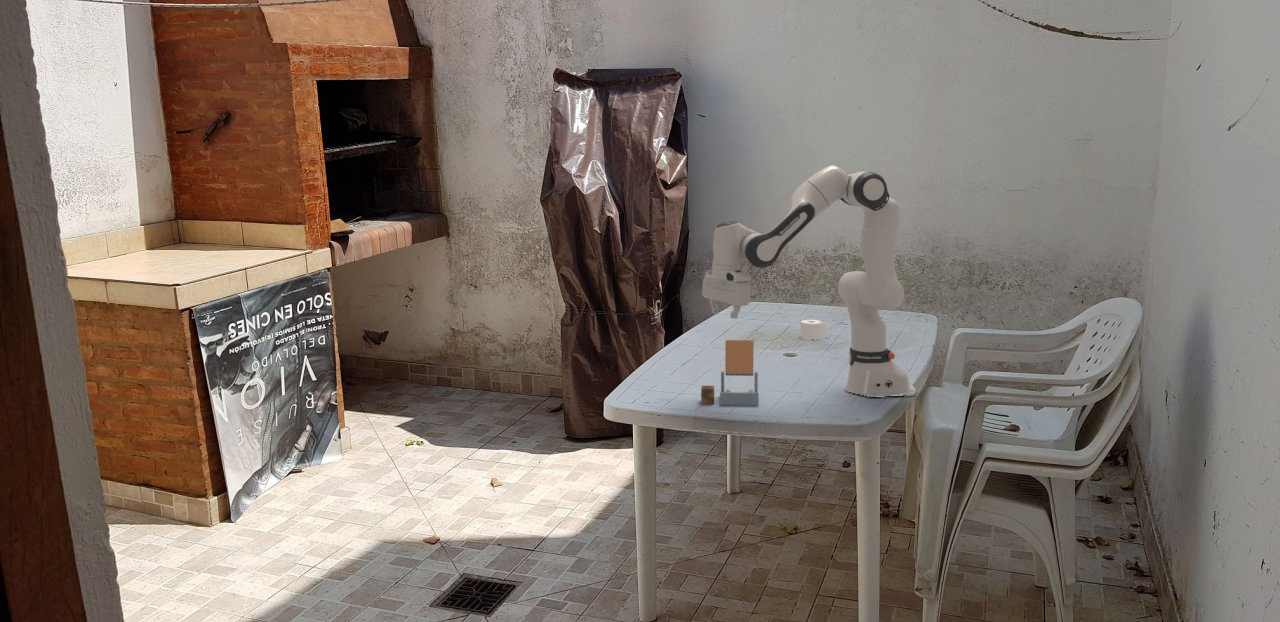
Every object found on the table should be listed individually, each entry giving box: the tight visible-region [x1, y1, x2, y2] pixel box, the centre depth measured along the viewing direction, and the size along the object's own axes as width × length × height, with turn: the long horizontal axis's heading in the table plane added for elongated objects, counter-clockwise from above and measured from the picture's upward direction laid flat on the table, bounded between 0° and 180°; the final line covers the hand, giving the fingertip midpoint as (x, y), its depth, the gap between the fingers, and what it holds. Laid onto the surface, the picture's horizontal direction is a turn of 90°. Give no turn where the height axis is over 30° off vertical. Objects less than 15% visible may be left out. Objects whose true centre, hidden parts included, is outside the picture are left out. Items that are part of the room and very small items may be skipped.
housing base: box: [719, 370, 759, 407], centre depth 314 cm, size 12×11×8 cm
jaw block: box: [700, 385, 715, 405], centre depth 313 cm, size 4×4×5 cm
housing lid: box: [724, 339, 754, 377], centre depth 317 cm, size 9×12×1 cm
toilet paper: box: [800, 319, 830, 339], centre depth 400 cm, size 8×11×7 cm
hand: (724, 315), depth 312 cm, fingers open, 8 cm apart
